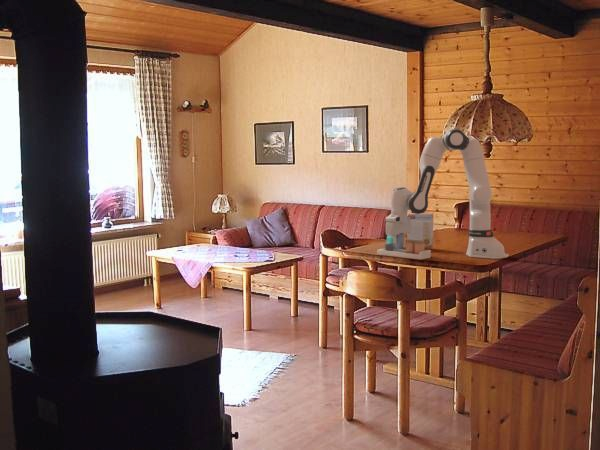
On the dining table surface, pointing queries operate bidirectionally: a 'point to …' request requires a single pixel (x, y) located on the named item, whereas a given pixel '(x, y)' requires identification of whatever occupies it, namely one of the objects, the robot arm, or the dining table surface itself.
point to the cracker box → (422, 229)
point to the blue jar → (399, 242)
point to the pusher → (389, 247)
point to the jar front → (418, 247)
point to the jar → (410, 246)
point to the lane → (405, 254)
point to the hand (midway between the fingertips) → (398, 242)
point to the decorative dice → (389, 239)
